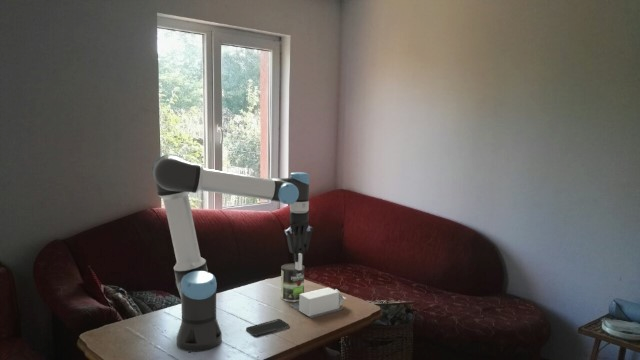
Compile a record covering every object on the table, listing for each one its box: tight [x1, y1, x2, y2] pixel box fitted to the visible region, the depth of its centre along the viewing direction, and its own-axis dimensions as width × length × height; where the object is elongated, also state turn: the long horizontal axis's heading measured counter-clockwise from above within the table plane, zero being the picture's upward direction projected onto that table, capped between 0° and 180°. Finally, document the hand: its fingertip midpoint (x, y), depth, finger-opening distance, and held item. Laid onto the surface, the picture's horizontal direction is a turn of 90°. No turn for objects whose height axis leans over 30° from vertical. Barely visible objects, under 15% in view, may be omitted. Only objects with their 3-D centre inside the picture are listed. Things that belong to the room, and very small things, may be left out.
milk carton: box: [298, 287, 347, 317], centre depth 194 cm, size 7×7×19 cm
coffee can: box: [280, 262, 306, 303], centre depth 207 cm, size 10×10×14 cm
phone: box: [245, 318, 290, 338], centre depth 176 cm, size 8×1×15 cm
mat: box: [289, 301, 344, 319], centre depth 197 cm, size 16×16×1 cm
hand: (298, 269), depth 190 cm, fingers closed
